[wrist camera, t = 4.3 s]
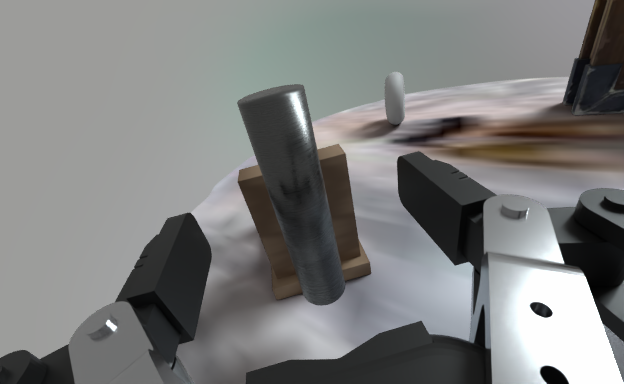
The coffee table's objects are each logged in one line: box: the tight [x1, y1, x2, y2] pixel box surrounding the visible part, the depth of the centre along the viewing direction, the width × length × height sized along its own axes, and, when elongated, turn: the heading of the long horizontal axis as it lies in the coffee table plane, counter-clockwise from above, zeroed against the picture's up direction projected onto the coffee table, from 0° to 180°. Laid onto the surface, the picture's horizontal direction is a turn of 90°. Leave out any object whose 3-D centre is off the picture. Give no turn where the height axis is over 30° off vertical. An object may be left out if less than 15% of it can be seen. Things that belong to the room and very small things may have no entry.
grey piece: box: [237, 84, 345, 305], centre depth 22 cm, size 3×18×13 cm, turn 10°
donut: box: [385, 72, 405, 125], centre depth 53 cm, size 10×3×10 cm, turn 163°
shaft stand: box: [238, 144, 371, 300], centre depth 29 cm, size 9×19×12 cm, turn 10°
